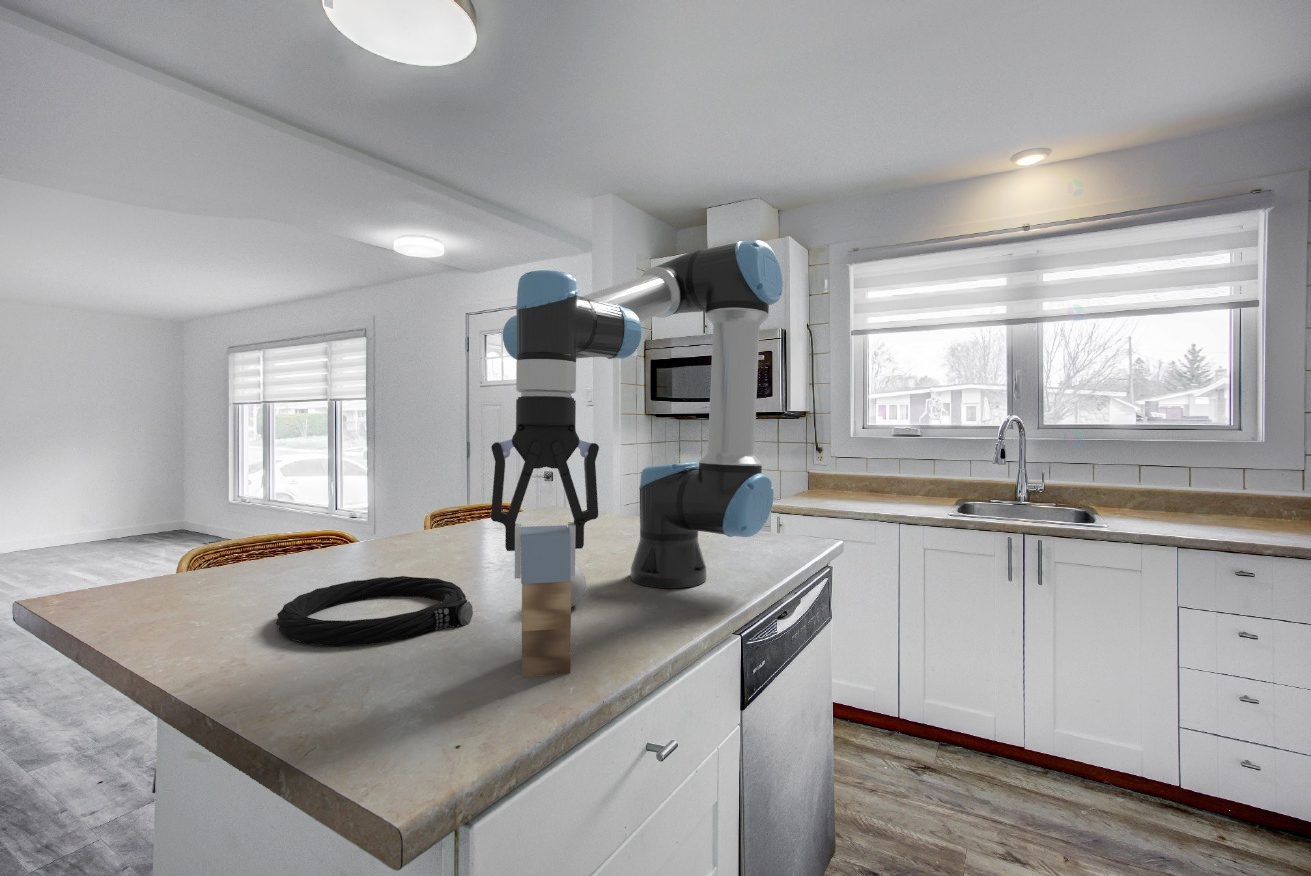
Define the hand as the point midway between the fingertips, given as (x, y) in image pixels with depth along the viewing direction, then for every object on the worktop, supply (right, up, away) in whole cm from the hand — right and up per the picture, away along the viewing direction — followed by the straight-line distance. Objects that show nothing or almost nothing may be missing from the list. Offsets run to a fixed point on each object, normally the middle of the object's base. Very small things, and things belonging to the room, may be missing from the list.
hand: (544, 574), depth 79 cm
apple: (-1, -11, +25) cm, 27 cm away
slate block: (0, 0, 0) cm, 0 cm away
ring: (-29, -12, +19) cm, 37 cm away
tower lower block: (0, -12, +1) cm, 12 cm away
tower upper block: (0, -6, 0) cm, 6 cm away
